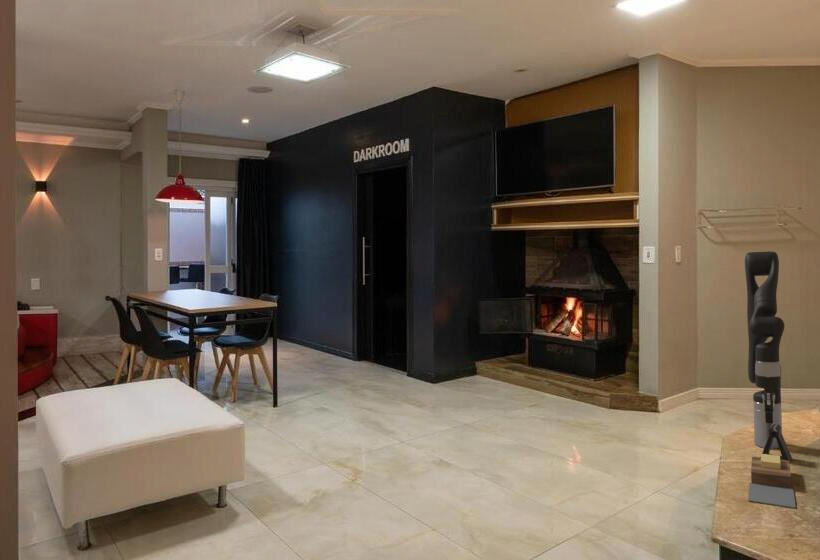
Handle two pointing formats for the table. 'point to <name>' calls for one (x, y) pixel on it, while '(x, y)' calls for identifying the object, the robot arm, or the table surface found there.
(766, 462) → the yellow block
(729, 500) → the table surface
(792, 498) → the mat
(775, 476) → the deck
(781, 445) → the phone stand
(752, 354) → the robot arm
